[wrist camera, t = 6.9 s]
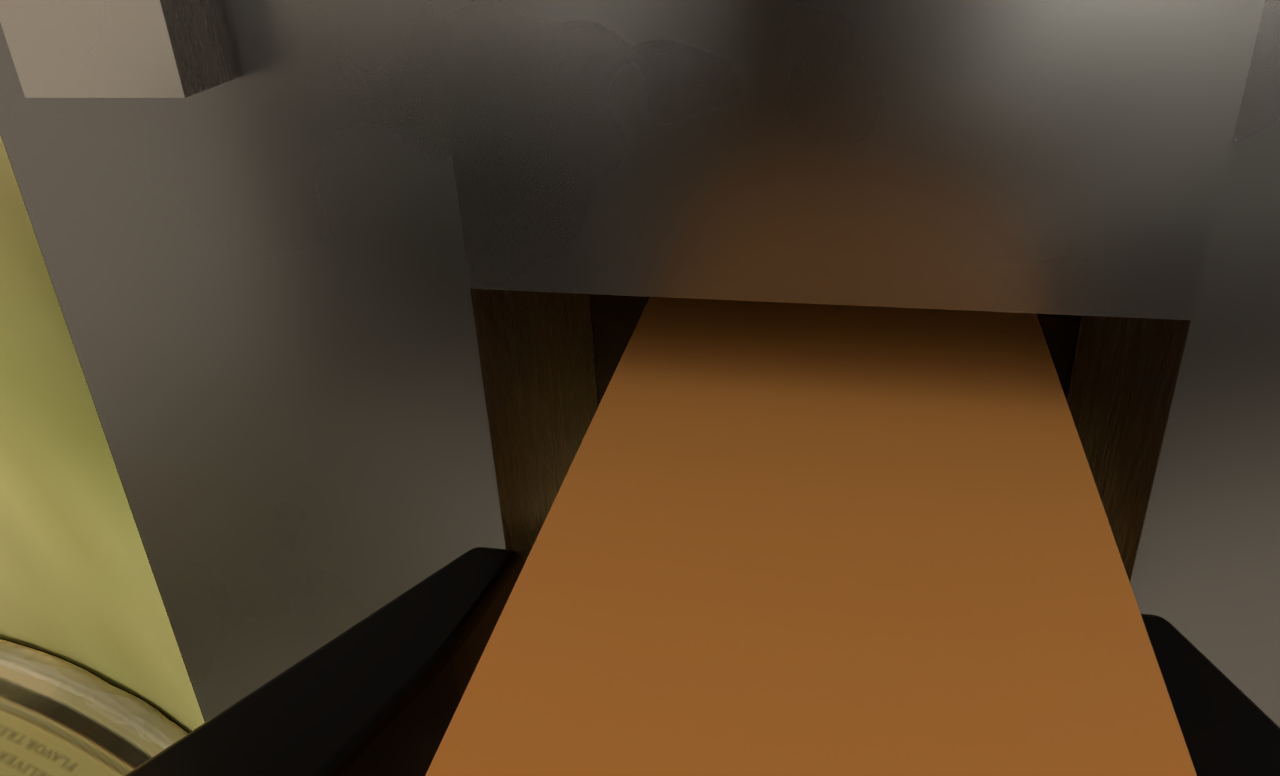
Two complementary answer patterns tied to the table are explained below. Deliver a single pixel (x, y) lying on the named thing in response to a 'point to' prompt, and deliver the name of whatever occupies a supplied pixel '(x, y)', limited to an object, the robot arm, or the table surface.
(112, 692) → the coffee can
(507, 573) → the robot arm
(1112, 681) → the tall orange box
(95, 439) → the table surface
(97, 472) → the table surface
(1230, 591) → the rosette plate
